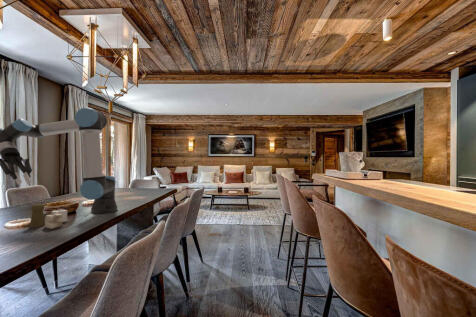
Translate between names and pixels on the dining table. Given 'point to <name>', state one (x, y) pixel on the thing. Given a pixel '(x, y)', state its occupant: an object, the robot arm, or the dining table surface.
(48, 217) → the birch block numbered 1
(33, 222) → the olive green tall block
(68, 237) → the dining table surface
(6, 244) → the dining table surface
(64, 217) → the cream block numbered 7
